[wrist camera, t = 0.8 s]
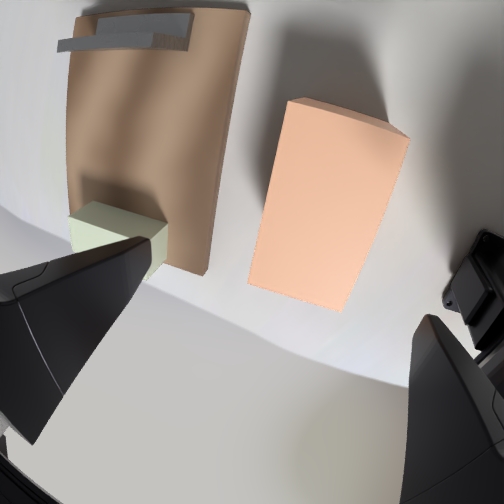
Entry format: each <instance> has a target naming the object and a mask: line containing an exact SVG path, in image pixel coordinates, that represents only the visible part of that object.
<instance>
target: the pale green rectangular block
mask: <svg viewBox="0 0 504 504" xmlns="http://www.w3.org/2000/svg"><path fill="white" fill-rule="evenodd" d="M68 220H69V229H70V237H71V244H72V250H73V251H74V252H77V253H78V252H82V251H85V250H89V249H92V248H96V247H99V246H103V245H106V244H110V243H114V242H117V241H121V240H125V239H128V238H132V237H136V236H143V237H146V238H149V239H150V240H151V248H152V263H151V266H150V268H149V270H148V271H147V273H146V275H145V276H144V278H143V280H146V281H147V280H148V279H149V277H150V276H151V275H152V274H153V273H154V272H155V271H156V270H157V269H158V268H159V266H160V265H161V264H162V263H163V262H164V261H165V260H166V259H167V240H168V223H166V222H162V221H159V220H156V219H152V218H149V217H146V216H142V215H139V214H136V213H133V212H129V211H126V210H123V209H119V208H116V207H113V206H109V205H106V204H103V203H100V202H96V201H92V202H90V203H88V204H87V205H85V206H84V207H82V208H80V209H79V210H77V211H76V212H74V213H72V214H71V215H69V216H68Z"/></svg>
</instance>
